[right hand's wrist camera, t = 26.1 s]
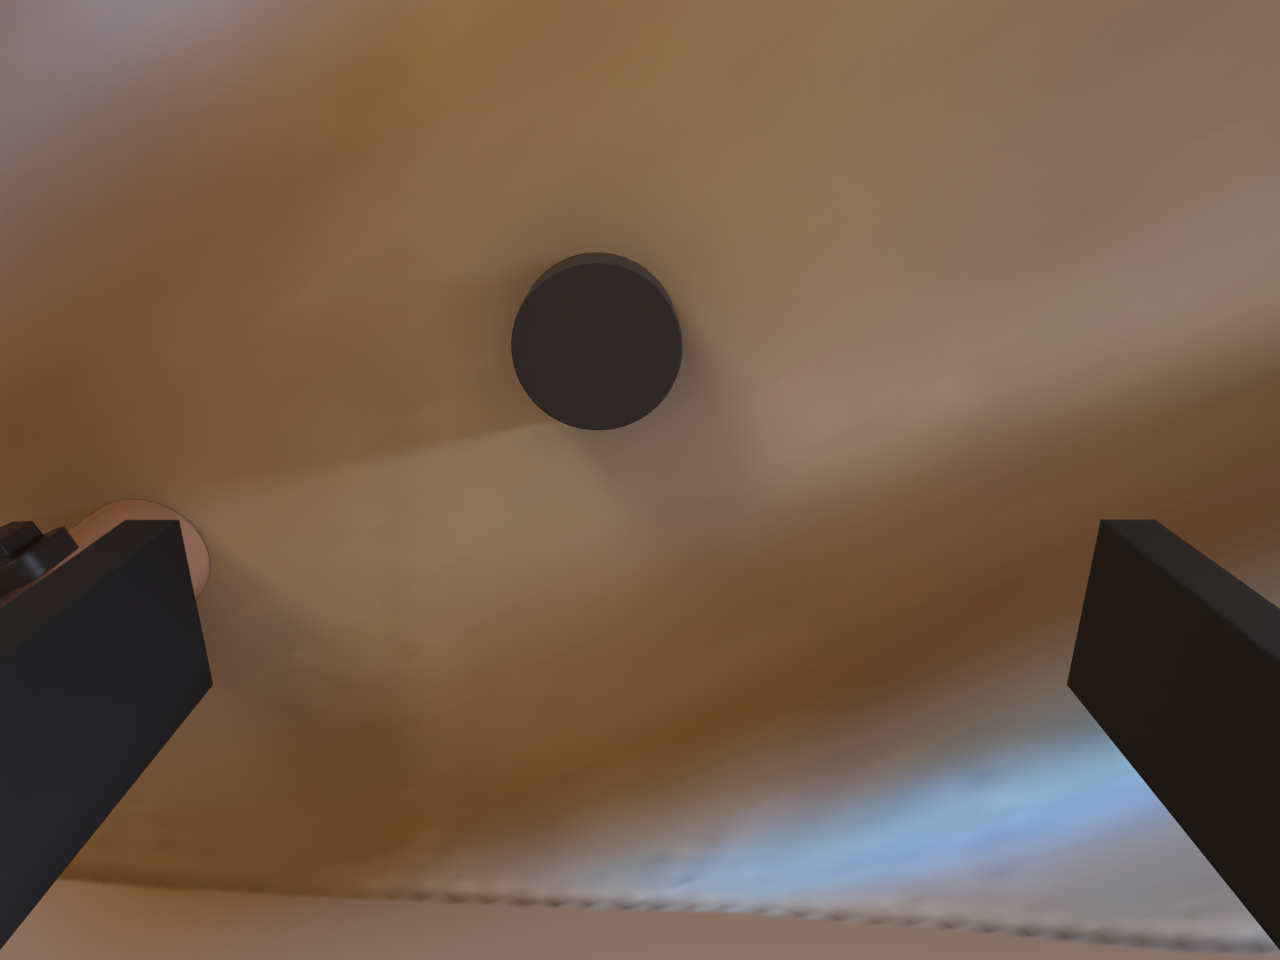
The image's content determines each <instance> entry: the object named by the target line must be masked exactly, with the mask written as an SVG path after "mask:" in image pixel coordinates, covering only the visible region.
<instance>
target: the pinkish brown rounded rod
mask: <svg viewBox="0 0 1280 960" xmlns="http://www.w3.org/2000/svg"><path fill="white" fill-rule="evenodd" d="M124 520H179V521H180V526H181V531H182V536H183V541H184V546H185V551H186V555H187V560H188V565H189V570H190V575H191V580H192V585H193V589H194V594H195V599H196V598H197V597H198V595H199V594H200V593H201V592H202V590H203V588H204V587H205V585H206V582H207V580H208V575H209V556H208V552H207V549H206V546H205V544H204V542H203V540H202V538H201V537H200V535H199V534H198V532H197V531H196V530H195V528H194V527H193V526H192V525H191V524H190V523H189V522H188V521H187V520H186V519H184V518H183V517H182V516H181V515H179V514H178V513H176V512H175V511H173V510H171V509H169V508H167V507H165V506H162V505H160V504H157V503H154V502H150V501H144V500H121V501H116V502H113V503H110V504H107V505H105V506H103V507H101V508H100V509H98V510H97V511H95V512H94V513H93V514H91V515H90V516H88V517H87V518H86V519H84V520H83V521H81V522H80V523H79V524H77V525H76V526H75V527H73V528H72V529H70V530H69V531H68V532H69V534H70V535H71V536H72V538H73V539H74V540H75V542H76V543H77V544H78V546H79V548H78V549H77V550H76V551H74V552H73V553H72V554H71V555H69V556H68V557H67V558H65V559H64V560H63V561H61V562H60V563H59V564H58V565H56V566H55V567H54V568H52V569H51V570H50V571H48V572H47V573H46V574H44V575H43V576H41V577H39V578H38V579H36V580H34V581H32V582H31V583H29V584H27V585H25V586H23V587H20V588H18V589H16V590H14V591H11V592H9V593H7V594H5V595H2V596H0V609H1V608H2V607H4V606H5V605H7V604H8V603H9V602H11V601H12V600H14V599H15V598H16V597H18V596H19V595H21V594H22V593H23V592H25V591H26V590H28V589H29V588H30V587H32V586H33V585H35V584H36V583H37V582H39V581H40V580H42V579H43V578H44V577H46V576H47V575H49V574H50V573H51V572H53V571H54V570H56V569H57V568H58V567H60V566H61V565H63V564H64V563H65V562H67V561H68V560H70V559H71V558H72V557H74V556H75V555H77V554H78V553H79V552H81V551H82V550H84V549H85V548H86V547H88V546H89V545H91V544H92V543H93V542H95V541H96V540H98V539H99V538H100V537H102V536H103V535H105V534H106V533H107V532H109V531H110V530H112V529H113V528H114V527H116V526H117V525H119V524H120V523H121V522H123V521H124Z"/></svg>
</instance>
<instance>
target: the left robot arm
mask: <svg viewBox="0 0 1280 960" xmlns="http://www.w3.org/2000/svg"><path fill="white" fill-rule="evenodd" d="M78 548H79V546H78V544H77V543H76V542H75V540H74V539H73V538H72V536H71V535H70V534H69V532H68V531H67V530H66V529H65V527H64V526H62V527H59V528H57V529H54V530H52V531H50V532H48V533H46V534H42V533H41V532H40V530H39V529H38V528H37V526H36V525H35V524H34V523H33V521H22V522H11V523H9V524H6V525H4V526H2V527H0V596H2V595H5V594H7V593H9V592H11V591H14V590H16V589H18V588H20V587H23V586H25V585H27V584H29V583H31V582H32V581H34V580H36V579H38V578H39V577H41V576H43V575H44V574H46V573H47V572H48V571H50V570H51V569H52V568H54V567H55V566H56V565H58V564H59V563H60V562H61V561H63V560H64V559H65V558H67V557H68V556H69V555H71V554H72V553H73V552H74V551H76V550H77V549H78Z"/></svg>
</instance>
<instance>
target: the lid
mask: <svg viewBox="0 0 1280 960" xmlns="http://www.w3.org/2000/svg"><path fill="white" fill-rule="evenodd" d="M511 342H512V358H513V364H514V367H515V371H516V374H517V376H518V378H519V381H520V383H521V385H522V386H523V388H524V390H525V391H526V393H527V394H528V396H529V397H530V398H531V399H532V401H533V402H534V403H535V404H536V405H537V406H538V407H539V408H540V409H542V410H543V411H544V412H545V413H547V414H548V415H549V416H551V417H553V418H555V419H556V420H558V421H560V422H562V423H565V424H567V425H570V426H573V427H577V428H581V429H588V430H608V429H614V428H619V427H623V426H626V425H628V424H631V423H633V422H635V421H637V420H639V419H641V418H643V417H644V416H646V415H647V414H649V413H650V412H651V411H652V410H654V409H655V408H656V407H657V406H658V405H659V404H660V403H661V402H662V400H663V399H664V398H665V397H666V395H667V394H668V392H669V391H670V389H671V388H672V386H673V384H674V382H675V380H676V377H677V374H678V371H679V368H680V364H681V358H682V335H681V330H680V326H679V322H678V319H677V317H676V314H675V311H674V308H673V306H672V303H671V300H670V298H669V296H668V294H667V293H666V291H665V289H664V288H663V287H662V285H661V284H660V282H659V281H658V280H657V279H656V278H655V277H654V276H653V275H652V274H651V273H650V272H649V271H647V270H646V269H645V268H644V267H642V266H640V265H639V264H637V263H636V262H634V261H631V260H629V259H627V258H624V257H621V256H618V255H614V254H608V253H586V254H580V255H576V256H573V257H570V258H567V259H565V260H563V261H561V262H559V263H557V264H555V265H554V266H552V267H551V268H550V269H548V270H547V271H546V272H545V273H544V274H543V275H542V276H541V277H540V278H538V280H537V281H536V282H535V284H534V285H533V286H532V288H531V289H530V291H529V293H528V294H527V296H526V298H525V300H524V302H523V304H522V305H521V307H520V309H519V312H518V314H517V317H516V319H515V323H514V327H513V332H512V341H511Z"/></svg>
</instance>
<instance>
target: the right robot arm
mask: <svg viewBox="0 0 1280 960" xmlns="http://www.w3.org/2000/svg"><path fill="white" fill-rule="evenodd" d="M212 685H213V682H212V677H211V672H210V667H209V662H208V658H207V653H206V648H205V643H204V638H203V633H202V628H201V623H200V619H199V614H198V609H197V604H196V599H195V594H194V589H193V585H192V580H191V575H190V570H189V565H188V560H187V555H186V551H185V546H184V541H183V536H182V531H181V526H180V521H179V520H124V521H123V522H121V523H120V524H119V525H117V526H116V527H114V528H113V529H112V530H110V531H109V532H107V533H106V534H105V535H103V536H102V537H100V538H99V539H98V540H96V541H95V542H93V543H92V544H91V545H89V546H88V547H86V548H85V549H84V550H82V551H81V552H79V553H78V554H77V555H75V556H74V557H72V558H71V559H70V560H68V561H67V562H65V563H64V564H63V565H61V566H60V567H58V568H57V569H56V570H54V571H53V572H51V573H50V574H49V575H47V576H46V577H44V578H43V579H42V580H40V581H39V582H37V583H36V584H35V585H33V586H32V587H30V588H29V589H28V590H26V591H25V592H23V593H22V594H21V595H19V596H18V597H16V598H15V599H14V600H12V601H11V602H9V603H8V604H7V605H5V606H4V607H2V608H1V609H0V949H1V948H2V947H3V946H4V944H5V943H6V942H7V941H8V939H9V938H10V937H11V936H12V934H13V933H14V932H15V931H16V929H17V928H18V927H19V926H20V924H21V923H22V922H23V921H24V920H25V918H26V917H27V916H28V914H29V913H30V912H31V911H32V909H33V908H34V907H35V906H36V905H37V903H38V902H39V901H40V900H41V898H42V897H43V896H44V895H45V893H46V892H47V891H48V890H49V888H50V887H51V886H52V885H53V883H54V882H55V881H56V880H57V878H58V877H59V876H60V875H61V873H62V872H63V871H64V870H65V868H66V867H67V866H68V865H69V863H70V862H71V861H72V860H73V858H74V857H75V856H76V855H77V853H78V852H79V851H80V850H81V848H82V847H83V846H84V845H85V843H86V842H87V841H88V840H89V838H90V837H91V836H92V835H93V834H94V832H95V831H96V830H97V829H98V827H99V826H100V825H101V824H102V822H103V821H104V820H105V819H106V817H107V816H108V815H109V814H110V812H111V811H112V810H113V809H114V807H115V806H116V805H117V804H118V802H119V801H120V800H121V799H122V797H123V796H124V795H125V794H126V792H127V791H128V790H129V789H130V787H131V786H132V785H133V784H134V782H135V781H136V780H137V779H138V777H139V776H140V775H141V774H142V772H143V771H144V770H145V769H146V767H147V766H148V765H149V764H150V762H151V761H152V760H153V759H154V757H155V756H156V755H157V754H158V752H159V751H160V750H161V749H162V748H163V746H164V745H165V744H166V743H167V741H168V740H169V739H170V738H171V736H172V735H173V734H174V733H175V731H176V730H177V729H178V728H179V726H180V725H181V724H182V723H183V721H184V720H185V719H186V718H187V716H188V715H189V714H190V713H191V711H192V710H193V709H194V708H195V706H196V705H197V704H198V703H199V701H200V700H201V699H202V698H203V696H204V695H205V694H206V693H207V691H208V690H209V689H210V688H211V686H212ZM1067 685H1068V686H1069V688H1070V689H1071V690H1072V691H1073V693H1074V694H1075V695H1076V696H1077V698H1078V699H1079V700H1080V701H1081V703H1082V704H1083V705H1084V706H1085V708H1086V709H1087V710H1088V711H1089V713H1090V714H1091V715H1092V716H1093V718H1094V719H1095V720H1096V721H1097V723H1098V724H1099V725H1100V726H1101V728H1102V729H1103V730H1104V731H1105V733H1106V734H1107V735H1108V736H1109V738H1110V739H1111V740H1112V741H1113V743H1114V744H1115V745H1116V746H1117V748H1118V749H1119V750H1120V751H1121V752H1122V754H1123V755H1124V756H1125V757H1126V759H1127V760H1128V761H1129V762H1130V764H1131V765H1132V766H1133V767H1134V769H1135V770H1136V771H1137V772H1138V774H1139V775H1140V776H1141V777H1142V779H1143V780H1144V781H1145V782H1146V784H1147V785H1148V786H1149V787H1150V789H1151V790H1152V791H1153V792H1154V794H1155V795H1156V796H1157V797H1158V799H1159V800H1160V801H1161V802H1162V804H1163V805H1164V806H1165V807H1166V809H1167V810H1168V811H1169V812H1170V814H1171V815H1172V816H1173V817H1174V819H1175V820H1176V821H1177V822H1178V824H1179V825H1180V826H1181V827H1182V829H1183V830H1184V831H1185V832H1186V834H1187V835H1188V836H1189V837H1190V838H1191V840H1192V841H1193V842H1194V843H1195V845H1196V846H1197V847H1198V848H1199V850H1200V851H1201V852H1202V853H1203V855H1204V856H1205V857H1206V858H1207V860H1208V861H1209V862H1210V863H1211V865H1212V866H1213V867H1214V868H1215V870H1216V871H1217V872H1218V873H1219V875H1220V876H1221V877H1222V878H1223V880H1224V881H1225V882H1226V883H1227V885H1228V886H1229V887H1230V888H1231V890H1232V891H1233V892H1234V893H1235V895H1236V896H1237V897H1238V898H1239V900H1240V901H1241V902H1242V903H1243V905H1244V906H1245V907H1246V908H1247V910H1248V911H1249V912H1250V913H1251V915H1252V916H1253V917H1254V918H1255V919H1256V921H1257V922H1258V923H1259V924H1260V926H1261V927H1262V928H1263V929H1264V931H1265V932H1266V933H1267V934H1268V936H1269V937H1270V938H1271V939H1272V941H1273V942H1274V943H1275V944H1276V946H1277V947H1278V948H1279V949H1280V609H1279V608H1278V607H1276V606H1275V605H1273V604H1272V603H1271V602H1269V601H1268V600H1266V599H1265V598H1264V597H1262V596H1261V595H1259V594H1258V593H1257V592H1255V591H1254V590H1252V589H1251V588H1250V587H1248V586H1247V585H1245V584H1244V583H1243V582H1241V581H1240V580H1238V579H1237V578H1236V577H1234V576H1233V575H1231V574H1230V573H1229V572H1227V571H1226V570H1224V569H1223V568H1222V567H1220V566H1219V565H1217V564H1216V563H1215V562H1213V561H1212V560H1210V559H1209V558H1208V557H1206V556H1205V555H1203V554H1202V553H1201V552H1199V551H1198V550H1196V549H1195V548H1194V547H1192V546H1191V545H1189V544H1188V543H1187V542H1185V541H1184V540H1182V539H1181V538H1180V537H1178V536H1177V535H1175V534H1174V533H1173V532H1171V531H1170V530H1168V529H1167V528H1166V527H1164V526H1163V525H1161V524H1160V523H1159V522H1157V521H1156V520H1101V521H1100V526H1099V531H1098V536H1097V541H1096V546H1095V551H1094V555H1093V560H1092V565H1091V570H1090V575H1089V580H1088V585H1087V589H1086V594H1085V599H1084V604H1083V609H1082V614H1081V619H1080V623H1079V628H1078V633H1077V638H1076V643H1075V648H1074V653H1073V658H1072V662H1071V667H1070V672H1069V677H1068V682H1067Z"/></svg>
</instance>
